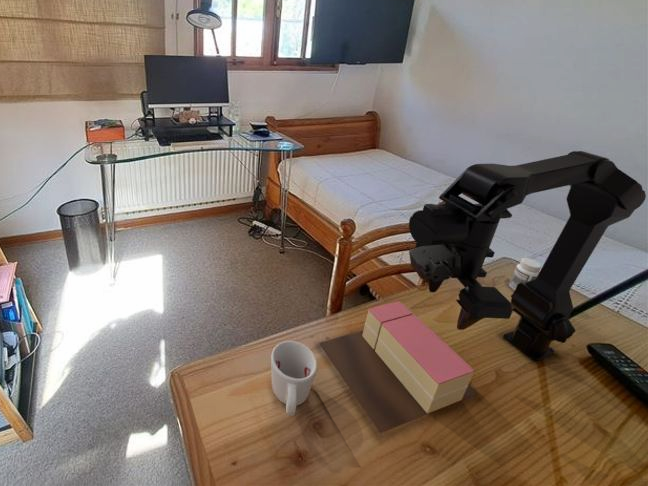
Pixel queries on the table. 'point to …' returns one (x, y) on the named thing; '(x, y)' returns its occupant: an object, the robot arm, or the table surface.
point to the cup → (292, 373)
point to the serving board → (374, 382)
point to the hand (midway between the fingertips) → (445, 309)
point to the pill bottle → (525, 272)
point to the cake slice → (382, 320)
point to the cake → (423, 363)
